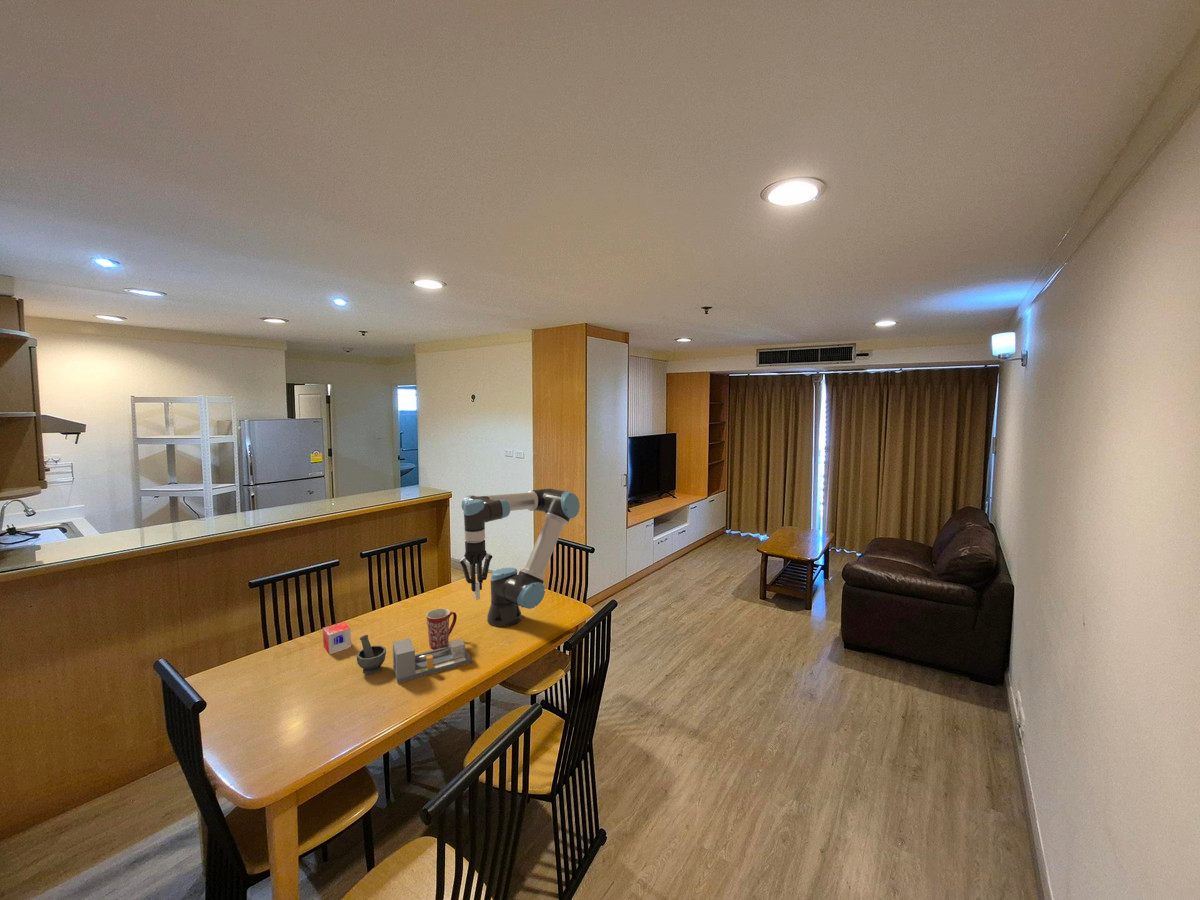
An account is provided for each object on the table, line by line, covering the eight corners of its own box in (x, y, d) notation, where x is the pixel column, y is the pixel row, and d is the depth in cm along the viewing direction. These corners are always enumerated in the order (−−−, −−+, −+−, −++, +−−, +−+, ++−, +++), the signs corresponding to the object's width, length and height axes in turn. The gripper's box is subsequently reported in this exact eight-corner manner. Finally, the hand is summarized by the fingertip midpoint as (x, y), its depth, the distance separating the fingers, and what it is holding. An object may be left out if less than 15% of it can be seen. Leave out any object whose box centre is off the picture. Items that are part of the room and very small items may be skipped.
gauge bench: (464, 650, 186) (463, 625, 185) (471, 662, 178) (471, 636, 177) (393, 669, 173) (392, 642, 172) (397, 683, 164) (396, 654, 163)
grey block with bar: (461, 650, 183) (461, 638, 183) (466, 659, 177) (466, 646, 177) (408, 664, 173) (407, 651, 173) (411, 674, 167) (410, 660, 167)
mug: (434, 653, 184) (433, 620, 183) (422, 645, 190) (421, 613, 189) (462, 641, 194) (462, 610, 192) (450, 634, 199) (450, 603, 198)
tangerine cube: (432, 665, 172) (431, 654, 172) (433, 667, 171) (432, 657, 170) (426, 666, 171) (426, 656, 171) (427, 669, 170) (427, 658, 169)
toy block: (345, 640, 194) (344, 621, 193) (351, 647, 188) (350, 628, 187) (323, 646, 188) (322, 628, 187) (328, 654, 182) (328, 635, 182)
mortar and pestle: (391, 668, 173) (390, 637, 172) (366, 680, 166) (365, 648, 164) (375, 658, 180) (374, 628, 179) (350, 670, 172) (349, 638, 171)
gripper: (488, 534, 188) (489, 591, 190) (455, 540, 181) (457, 598, 183) (494, 539, 181) (496, 597, 184) (461, 545, 174) (463, 606, 177)
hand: (477, 598), depth 184 cm, fingers closed
